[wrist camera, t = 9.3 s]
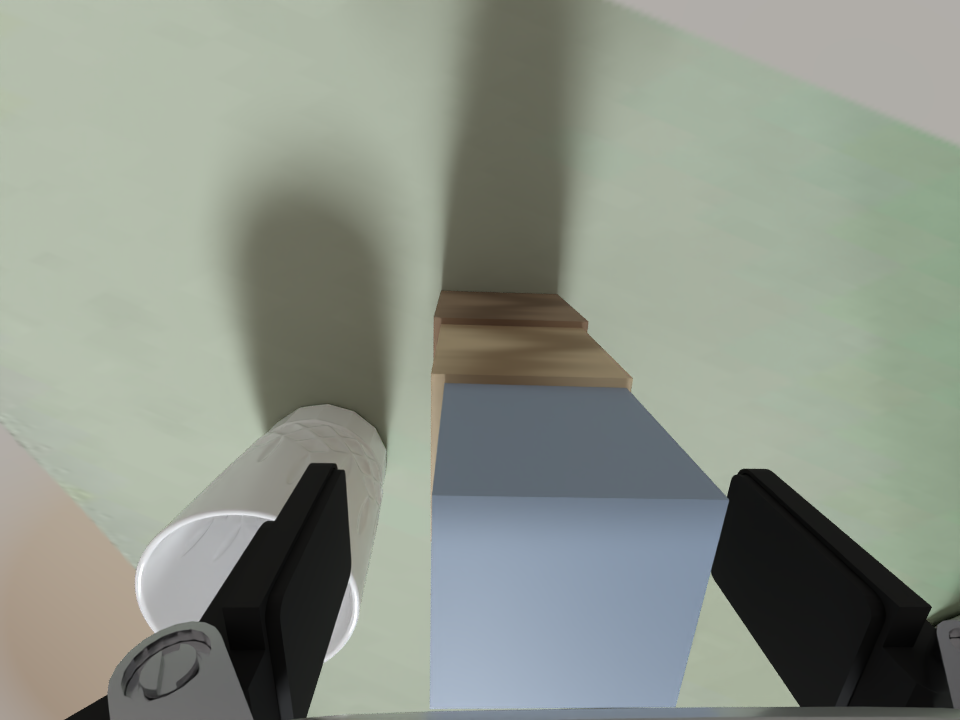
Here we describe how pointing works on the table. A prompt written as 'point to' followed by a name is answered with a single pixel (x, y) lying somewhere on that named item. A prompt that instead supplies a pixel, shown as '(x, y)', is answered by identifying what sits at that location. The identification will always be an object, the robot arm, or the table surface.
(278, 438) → the white cup
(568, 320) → the tower base
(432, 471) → the tower mid
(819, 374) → the table surface
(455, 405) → the slate block
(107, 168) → the table surface
